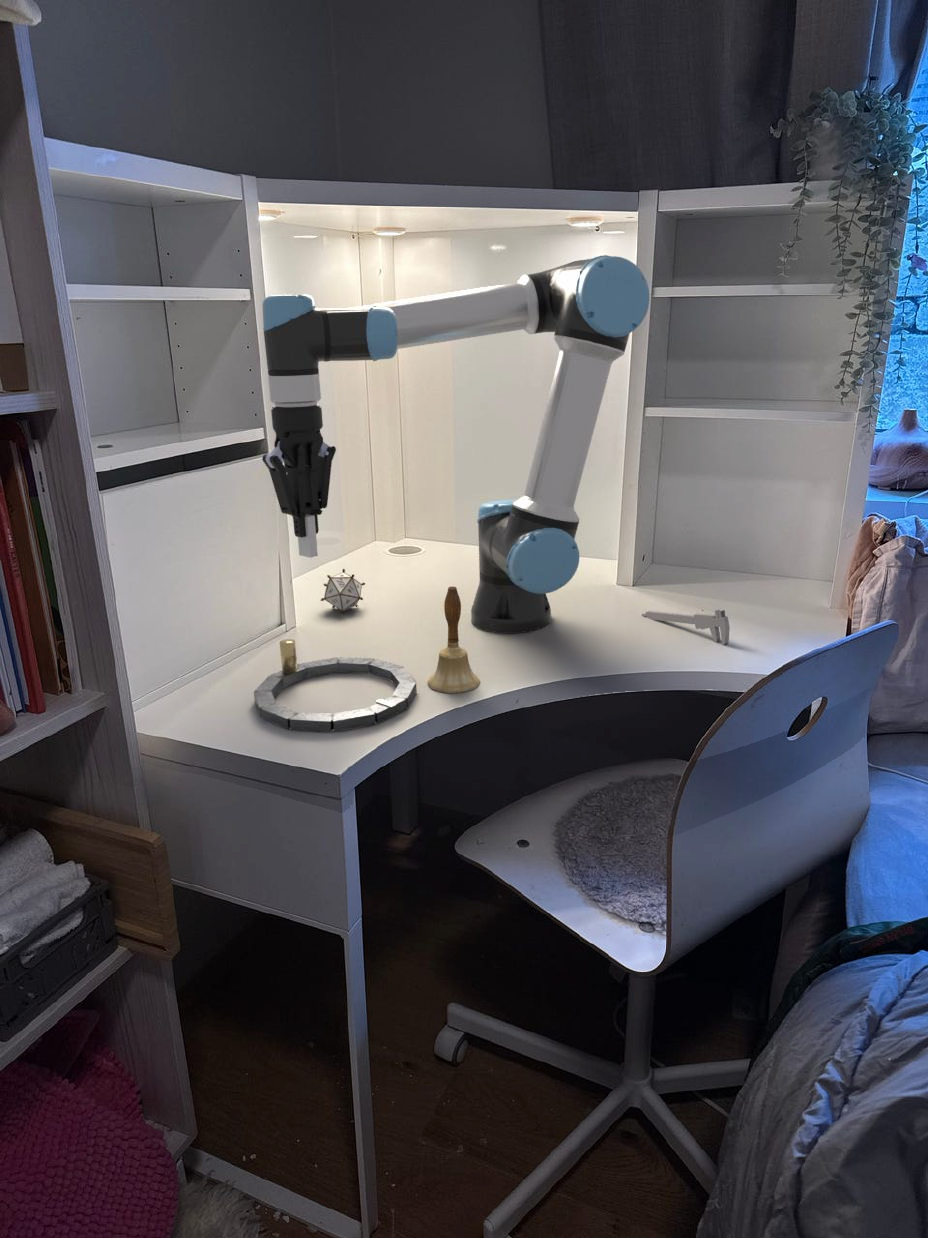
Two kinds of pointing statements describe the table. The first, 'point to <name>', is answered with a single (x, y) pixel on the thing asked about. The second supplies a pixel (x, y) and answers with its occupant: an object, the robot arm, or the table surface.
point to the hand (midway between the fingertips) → (308, 555)
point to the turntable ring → (343, 664)
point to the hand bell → (453, 654)
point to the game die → (343, 591)
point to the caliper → (698, 622)
